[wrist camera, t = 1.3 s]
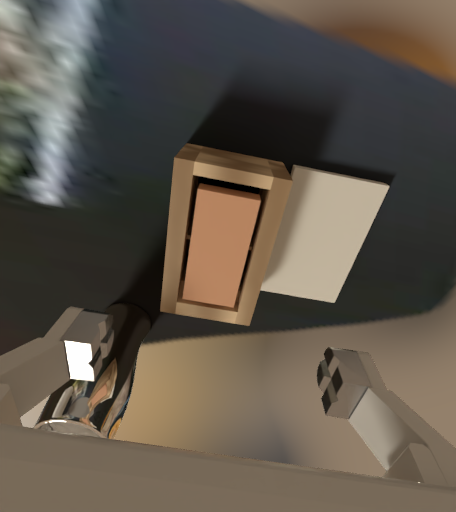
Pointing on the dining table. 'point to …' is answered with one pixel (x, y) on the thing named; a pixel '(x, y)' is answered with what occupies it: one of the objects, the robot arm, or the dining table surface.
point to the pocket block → (181, 221)
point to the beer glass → (101, 383)
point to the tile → (219, 244)
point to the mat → (321, 232)
